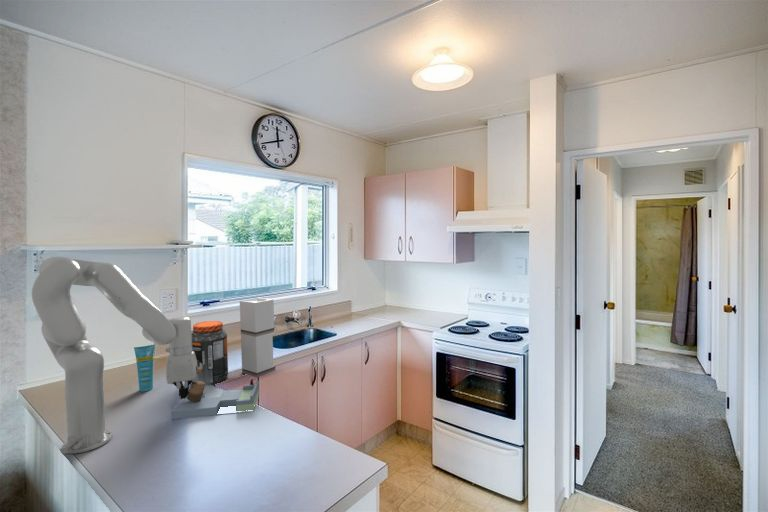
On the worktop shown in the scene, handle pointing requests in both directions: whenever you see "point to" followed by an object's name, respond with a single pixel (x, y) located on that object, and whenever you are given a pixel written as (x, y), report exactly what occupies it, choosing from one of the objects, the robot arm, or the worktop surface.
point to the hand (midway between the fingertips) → (184, 397)
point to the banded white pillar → (257, 336)
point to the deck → (218, 403)
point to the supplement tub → (210, 351)
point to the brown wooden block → (196, 391)
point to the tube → (145, 366)
